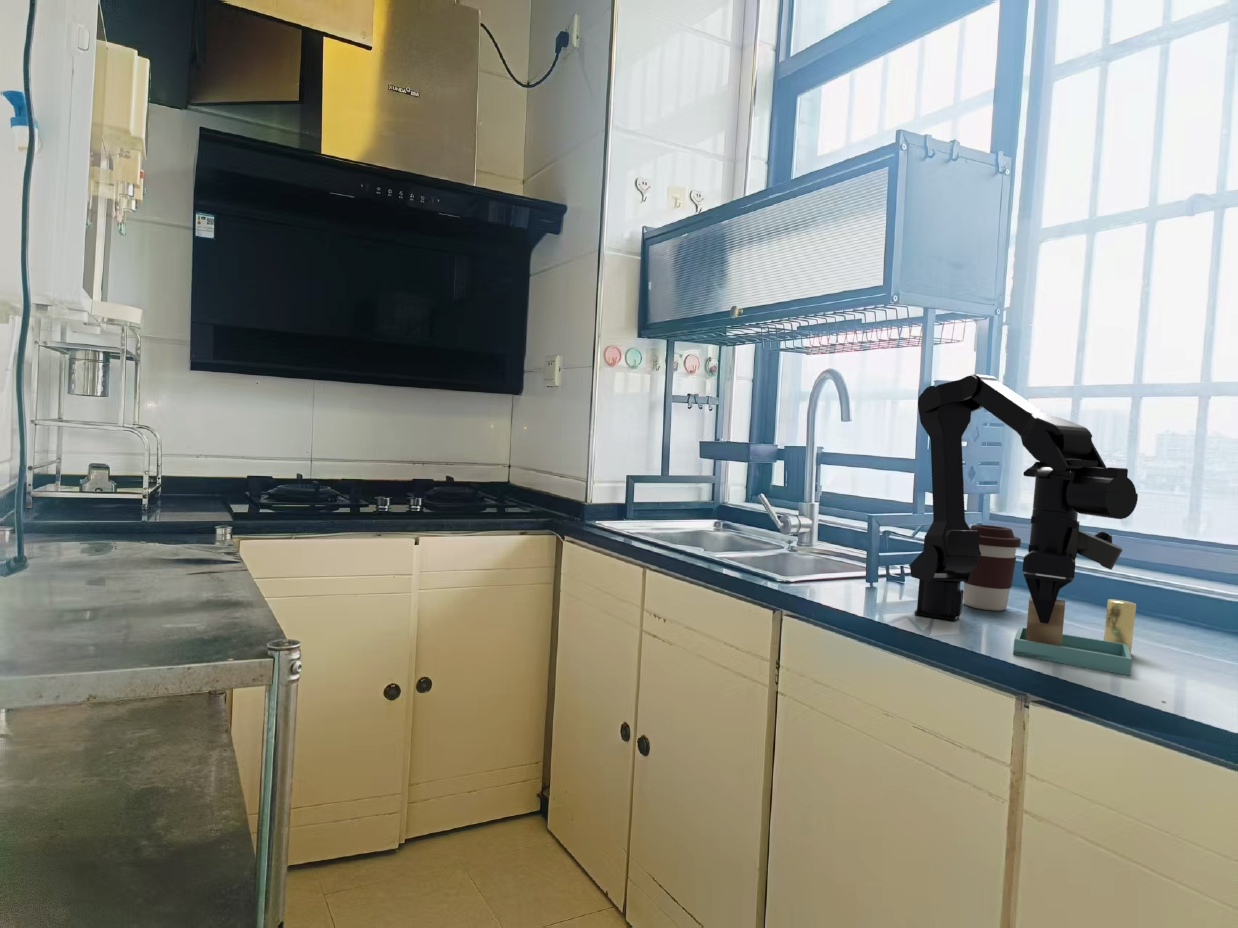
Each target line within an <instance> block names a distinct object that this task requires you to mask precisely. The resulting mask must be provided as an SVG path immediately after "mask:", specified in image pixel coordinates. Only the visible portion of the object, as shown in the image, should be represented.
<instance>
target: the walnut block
mask: <svg viewBox="0 0 1238 928" xmlns="http://www.w3.org/2000/svg"><path fill="white" fill-rule="evenodd" d="M1027 610H1028V611H1027V618H1026V628H1027V630H1026V640H1028V641H1034V642H1039V643H1045V644H1051V645H1057V646H1061V645H1062V634H1064V633H1063V631H1064V622H1065V621H1064V620H1065V610H1066V600H1064V599H1058V598H1057V599H1056V602H1055V605H1054V608H1053V611H1052V615H1051V618H1050V621H1049V623H1048V624H1046V623H1041V622H1040V621H1039V618H1038V615H1037V612H1036V609H1035V606H1034V603H1033V600H1032V597H1031V595H1030V597H1029V599H1028V609H1027Z"/></svg>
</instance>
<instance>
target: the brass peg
mask: <svg viewBox="0 0 1238 928" xmlns="http://www.w3.org/2000/svg"><path fill="white" fill-rule="evenodd" d="M1136 611H1137V604H1136V603H1135V602H1131V601H1127V600H1123V599H1122V600H1121V599H1109V598H1108V599H1107V605H1106V613H1105V623H1104V633H1103V640H1105V641H1111V642H1117V643H1123V644H1128V647H1129V651H1130V654H1131V655H1132V648H1133V640H1134V630H1135V621H1136V620H1135V619H1136Z"/></svg>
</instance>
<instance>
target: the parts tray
mask: <svg viewBox="0 0 1238 928" xmlns="http://www.w3.org/2000/svg"><path fill="white" fill-rule="evenodd" d="M1026 630H1027V627H1025V626H1018V628H1017V630H1016V631H1017V632H1016V634H1015V637H1014V640H1013V641H1014V642H1013V651H1012V655H1014V656H1020V657H1026V658H1031V659H1037V660H1043V661H1048V662H1052V663H1058V664H1063V665H1064V664H1065V665H1071V666H1075V667H1080V668H1081V667H1082V668H1087V669H1092V670H1097V671H1104V672H1109V673H1114V674H1119V675H1126V676H1131V673H1132V671H1131V670H1132V664H1133V663H1132V661H1133V659H1132V653H1131V654H1130V651H1129V647H1128V644H1123V643H1117V642H1111V641H1105V640H1104V639H1098V638H1092V637H1085V636H1080V635H1072V634H1067V633H1063V634H1062V645H1061V646H1057V645H1051V644H1045V643H1039V642H1034V641H1028V640H1026Z"/></svg>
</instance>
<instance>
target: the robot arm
mask: <svg viewBox="0 0 1238 928" xmlns="http://www.w3.org/2000/svg"><path fill="white" fill-rule="evenodd" d="M982 408H983V409H985V410H986V411H987V412H989V413H990V414H992V415H993V416H994V417H996V419H998V420H999V421H1001V422H1003V424H1004V425H1006V426H1008V427H1009V428H1010V429H1012V430H1013V431H1014V432H1016V433H1017V434H1018V435H1019V437H1020V440H1021V444H1022V446H1023V447H1024V448H1025V449H1026V450H1027V452H1028V453H1029V454H1030V455H1031V456H1032V457H1033V458H1034V459H1035V460H1036V461H1034V463H1033V465H1031V466H1030V467H1029V468H1027V469H1026V470H1024V471H1023V476H1024V477H1029V478H1030V477H1031V478H1035V479H1034V480H1035V481H1034V488H1033V489H1034V492H1033V502H1032V513H1031V517H1030V518H1031V519H1030V524H1031V526H1030V537H1029V538H1030V539H1029V544H1028V550H1027V551H1028V553H1027V554H1026V555H1024V557H1023V561H1022V570H1021V571H1022V574H1023V577H1024V581H1025V583H1026V585H1027V588H1028V591H1029V593H1030V596H1031V597H1032V600H1033V603H1034V606H1035V609H1036V612H1037V615H1038V618H1039V621H1040V622H1041V623H1046V624H1048V623H1049V621H1050V618H1051V615H1052V611H1053V608H1054V605H1055V602H1056V599H1058V596H1059V592H1060V590H1061V589H1062V588H1064V587H1065V586H1067V585H1069V584H1071V583H1072V582H1073V581H1074V578H1075V575H1076V573H1075V571H1076V558H1077V557H1078V555H1079V556H1082V557H1084V558H1086V559H1089V560H1091V561H1094V562H1095V563H1098V564H1099V565H1100V566H1101V567H1103V568H1106V569H1108V570H1113V568H1114V567H1115V564H1116V563H1117V562H1118V560H1119V557H1120V556H1121V554H1122V552H1123V548H1122V547H1121V546H1119V545H1117V544H1116V543H1113V536H1112V534H1110V533H1108V532H1106V531H1103V530H1100V531H1098V532H1097V533H1095V534H1092V533H1090V532H1087V531H1084V530H1082V529H1080V521H1079V520H1078V515H1079V514H1081V515H1086V516H1093V517H1099V518H1100V517H1101V518H1106V519H1107V518H1108V519H1115V520H1123V519H1126V518H1128V517H1129V516H1130V515H1132V514H1133V512H1134V510H1135V509H1136V506H1137V504H1138V500H1139V499H1138V497H1139V493H1137V489H1136V487H1135V484H1134V483H1133V481H1132V480H1131V479H1130V478H1129V477H1128V474H1129V470H1128V468H1125V467H1124V468H1123V467H1111V466H1110V467H1107V466H1106V464H1105V462H1104V461H1103V458H1102V457H1101V455H1100V454H1099V452H1098V450H1097V448H1096V446H1095V444H1094V442H1093V441H1092V438H1093V434H1092V433H1091V431H1090V430H1089V429H1088V428H1087V427H1085V426H1083V425H1080V424H1079V423H1075V422H1073V421H1070V420H1068V419H1064V418H1061V417H1058V416H1054V415H1051V414H1048V413H1046V412H1044V411H1043V410H1042V409H1039V408H1038V407H1036V406H1035V405H1034V404H1032V403H1031V402H1029V401H1028V400H1026V399H1025V398H1024V397H1022V396H1020V395H1019V394H1018V393H1016V392H1015V391H1013V390H1012V389H1010V388H1009V387H1007V386H1006V385H1004V384H1002V383H1001V381H1000V380H999V379H998V378H996V377H995V376H992V375H984V374H970V375H967V376H965V377H963V378H961V379H957V380H953V381H949V382H945V383H942V384H938V385H929V386H927V387H926V388H925V389H924V390H923V391H922V393H921V394H920V395H919V396H918V400H917V409H918V415H919V421H920V424H921V426H922V428H923V429H924V431H925V432H926V434H927V436H928V437H929V439H930V461H931V462H930V463H931V490H932V491H931V492H932V513H933V514H932V517H933V518H932V520H933V521H932V523H931V524H930V527H929V528H928V530H927V532H925V533H926V534H925V536H924V538H923V539H924V540H923V549H922V551H921V552H920V554H918V556H916V558H915V559H914V560H913V561H912V562H911V563H910V565H909V571H910V577H911V578H914V579H917V580H918V581H919V582H918V592H917V604H916V606H917V607H916V610H914V615H918V616H924V617H930V618H936V619H940V620H946V621H954V622H955V621H956V620H957V618H958V617H960V616H961V615H962V614H963V603H964V589H961V583H962V582H963V583H964V582H970V579H971V576H972V574H973V571H974V569H975V566H977V564H978V558H979V557H978V555H979V556H981V552H980V548H979V539H980V535H979V532H978V531H971V529H970V528H971V527H970V526H969V525H968V523H967V522H966V516H965V515H966V513H965V512H966V509H965V490H964V489H965V488H964V484H965V483H964V470H963V469H964V465H963V463H964V462H963V459H964V458H963V439H962V438H963V436H964V434H965V432H966V430H967V429H968V428H969V425H970V423H971V421H972V413H973V412H976V411H978V410H981V409H982ZM1077 554H1078V555H1077Z"/></svg>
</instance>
